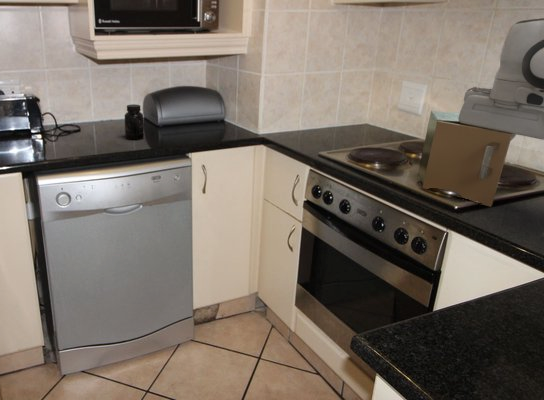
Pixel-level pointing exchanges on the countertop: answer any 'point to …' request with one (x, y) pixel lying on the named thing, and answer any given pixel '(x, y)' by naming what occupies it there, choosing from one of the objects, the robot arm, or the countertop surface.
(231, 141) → the countertop surface
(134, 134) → the supplement bottle
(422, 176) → the valve cabinet
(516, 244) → the countertop surface
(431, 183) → the door
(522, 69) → the robot arm
